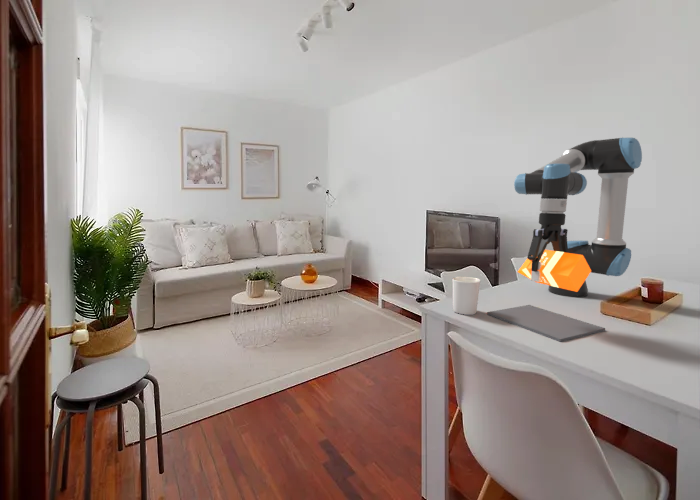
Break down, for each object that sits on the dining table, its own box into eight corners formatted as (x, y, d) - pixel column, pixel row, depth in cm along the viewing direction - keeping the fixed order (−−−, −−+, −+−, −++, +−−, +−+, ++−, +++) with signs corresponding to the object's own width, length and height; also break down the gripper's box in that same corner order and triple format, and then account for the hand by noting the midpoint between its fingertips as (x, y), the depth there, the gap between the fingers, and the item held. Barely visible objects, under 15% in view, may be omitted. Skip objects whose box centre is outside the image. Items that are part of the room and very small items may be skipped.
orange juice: (577, 292, 116) (521, 279, 134) (591, 270, 118) (535, 260, 136) (567, 276, 113) (512, 264, 131) (582, 254, 115) (525, 246, 132)
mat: (529, 306, 145) (529, 304, 145) (604, 330, 121) (605, 328, 121) (487, 314, 136) (487, 312, 136) (560, 341, 111) (560, 339, 111)
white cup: (445, 309, 141) (446, 277, 140) (466, 306, 145) (468, 275, 143) (462, 316, 132) (464, 283, 131) (484, 313, 136) (486, 281, 134)
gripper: (539, 213, 114) (532, 285, 118) (585, 213, 124) (578, 279, 128) (518, 211, 121) (512, 280, 124) (563, 212, 131) (557, 275, 134)
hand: (546, 279), depth 126 cm, fingers closed on orange juice, 10 cm apart
